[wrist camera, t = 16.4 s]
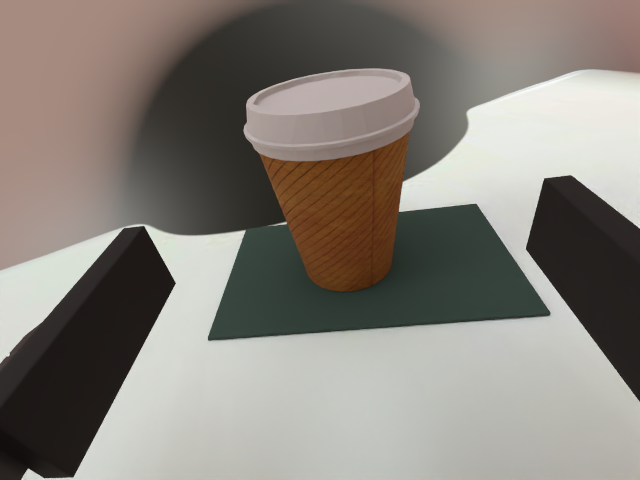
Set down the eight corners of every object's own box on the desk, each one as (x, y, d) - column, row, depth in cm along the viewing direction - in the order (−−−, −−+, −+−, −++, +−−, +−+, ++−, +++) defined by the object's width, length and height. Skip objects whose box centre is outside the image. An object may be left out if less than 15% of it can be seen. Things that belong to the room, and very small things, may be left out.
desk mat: (475, 205, 29) (476, 203, 28) (549, 315, 19) (550, 312, 19) (247, 230, 31) (246, 228, 31) (208, 340, 21) (207, 338, 21)
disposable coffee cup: (289, 232, 29) (252, 82, 22) (401, 218, 28) (400, 59, 21) (278, 318, 21) (216, 131, 14) (431, 303, 21) (445, 97, 14)
